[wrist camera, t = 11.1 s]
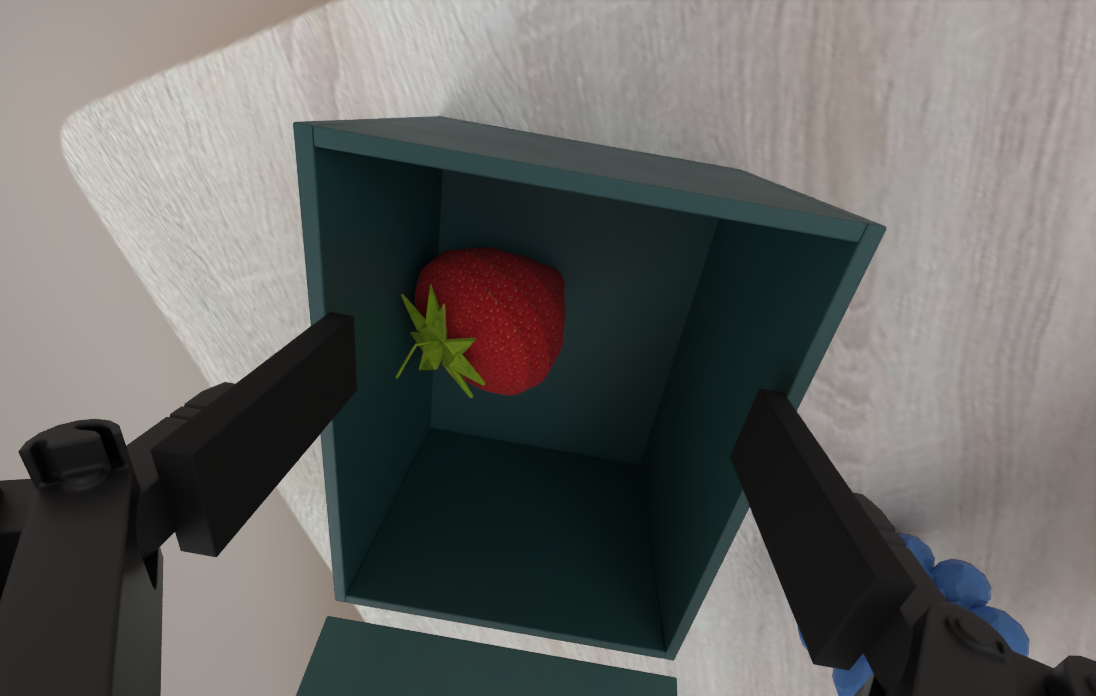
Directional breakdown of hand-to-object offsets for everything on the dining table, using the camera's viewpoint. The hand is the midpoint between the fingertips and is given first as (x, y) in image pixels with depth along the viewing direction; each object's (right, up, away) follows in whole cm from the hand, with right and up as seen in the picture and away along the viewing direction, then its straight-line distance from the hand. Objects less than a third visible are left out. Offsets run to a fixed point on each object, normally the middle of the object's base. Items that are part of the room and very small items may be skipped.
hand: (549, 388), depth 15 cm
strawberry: (+1, +5, +10) cm, 11 cm away
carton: (+1, +3, +12) cm, 13 cm away
